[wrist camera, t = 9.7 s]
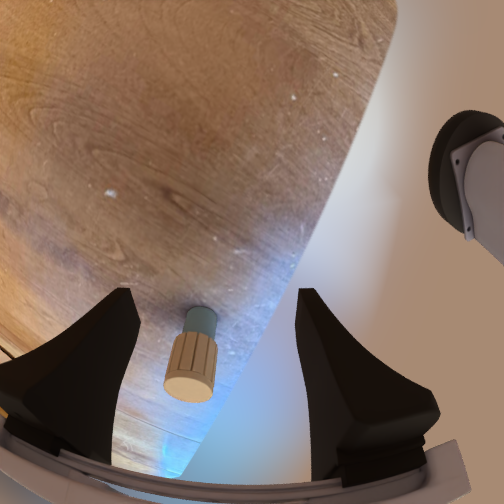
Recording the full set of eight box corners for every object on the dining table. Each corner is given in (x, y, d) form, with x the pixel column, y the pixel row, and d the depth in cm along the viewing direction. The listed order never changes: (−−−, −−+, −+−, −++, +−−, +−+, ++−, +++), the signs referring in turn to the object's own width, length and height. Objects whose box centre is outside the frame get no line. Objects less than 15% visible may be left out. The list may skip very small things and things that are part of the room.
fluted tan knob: (226, 352, 22) (222, 397, 19) (192, 363, 23) (185, 406, 20) (199, 325, 21) (190, 372, 17) (165, 339, 22) (153, 383, 18)
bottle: (223, 322, 25) (218, 370, 21) (199, 332, 26) (190, 378, 21) (205, 301, 24) (195, 349, 19) (180, 313, 25) (168, 359, 20)
